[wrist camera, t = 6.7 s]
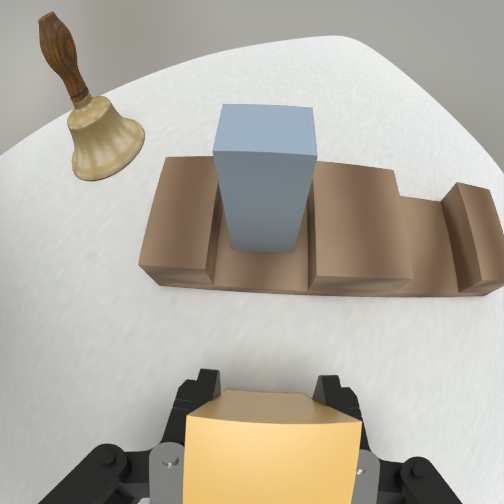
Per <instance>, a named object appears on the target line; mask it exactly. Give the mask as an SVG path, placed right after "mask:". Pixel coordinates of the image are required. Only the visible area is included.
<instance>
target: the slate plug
mask: <svg viewBox="0 0 504 504" xmlns="http://www.w3.org/2000/svg"><path fill="white" fill-rule="evenodd" d="M213 155H214V161H215V166H216V171H217V176H218V181H219V186H220V192H221V197H222V202H223V207H224V212H225V217H226V222H227V226H228V231H229V236H230V241H231V246H232V250H236V251H255V252H274V253H293V252H294V248H295V244H296V240H297V237H298V233H299V229H300V225H301V221H302V217H303V213H304V209H305V205H306V201H307V197H308V193H309V189H310V185H311V181H312V177H313V173H314V168H315V164H316V160H317V145H316V135H315V126H314V117H313V109H312V108H308V107H296V106H280V105H257V104H223V106H222V110H221V115H220V119H219V124H218V128H217V133H216V137H215V142H214V147H213Z"/></svg>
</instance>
